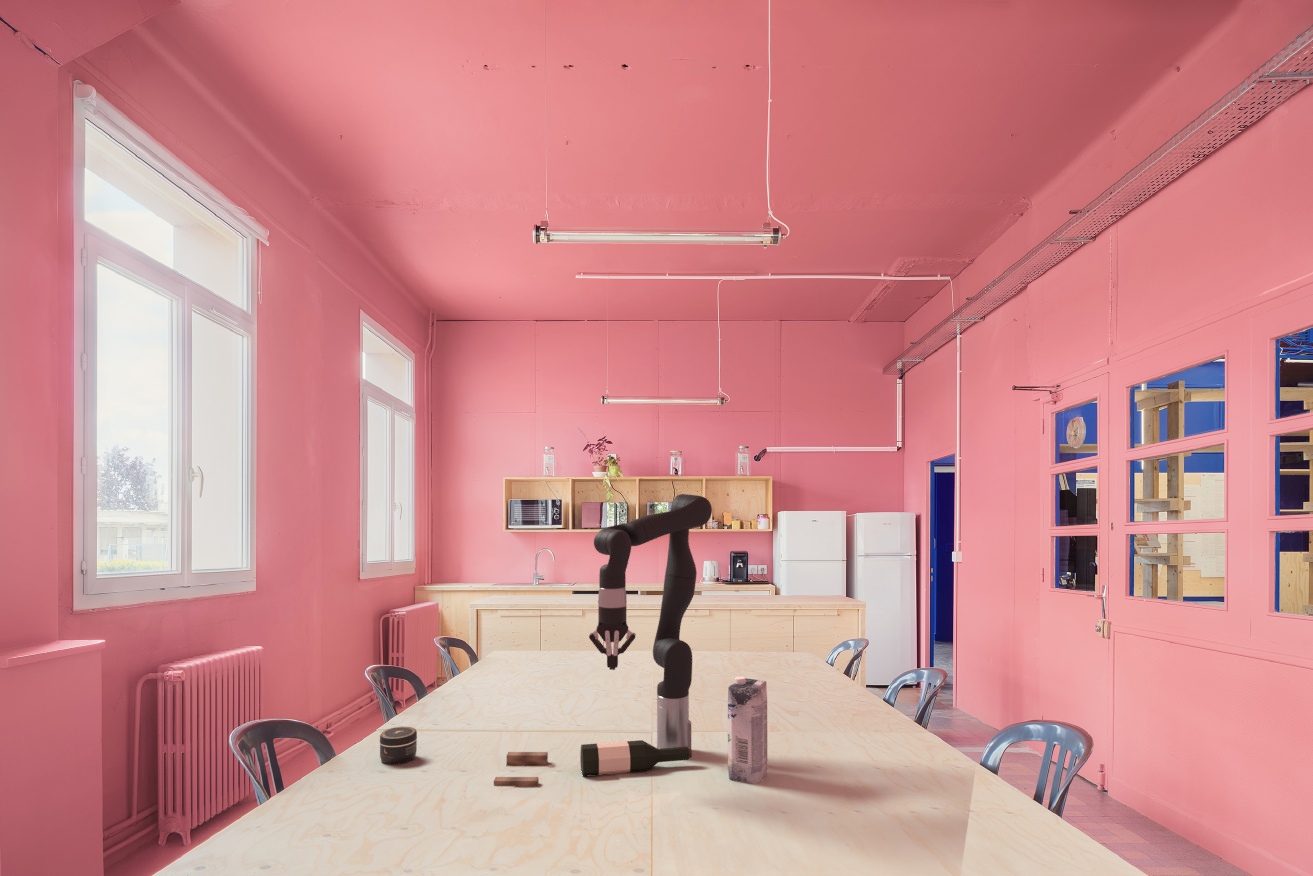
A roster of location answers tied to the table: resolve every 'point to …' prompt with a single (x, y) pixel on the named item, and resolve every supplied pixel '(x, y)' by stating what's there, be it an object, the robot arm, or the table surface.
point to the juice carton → (747, 730)
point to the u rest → (523, 760)
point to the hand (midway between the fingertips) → (612, 669)
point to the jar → (398, 745)
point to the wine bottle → (626, 757)
